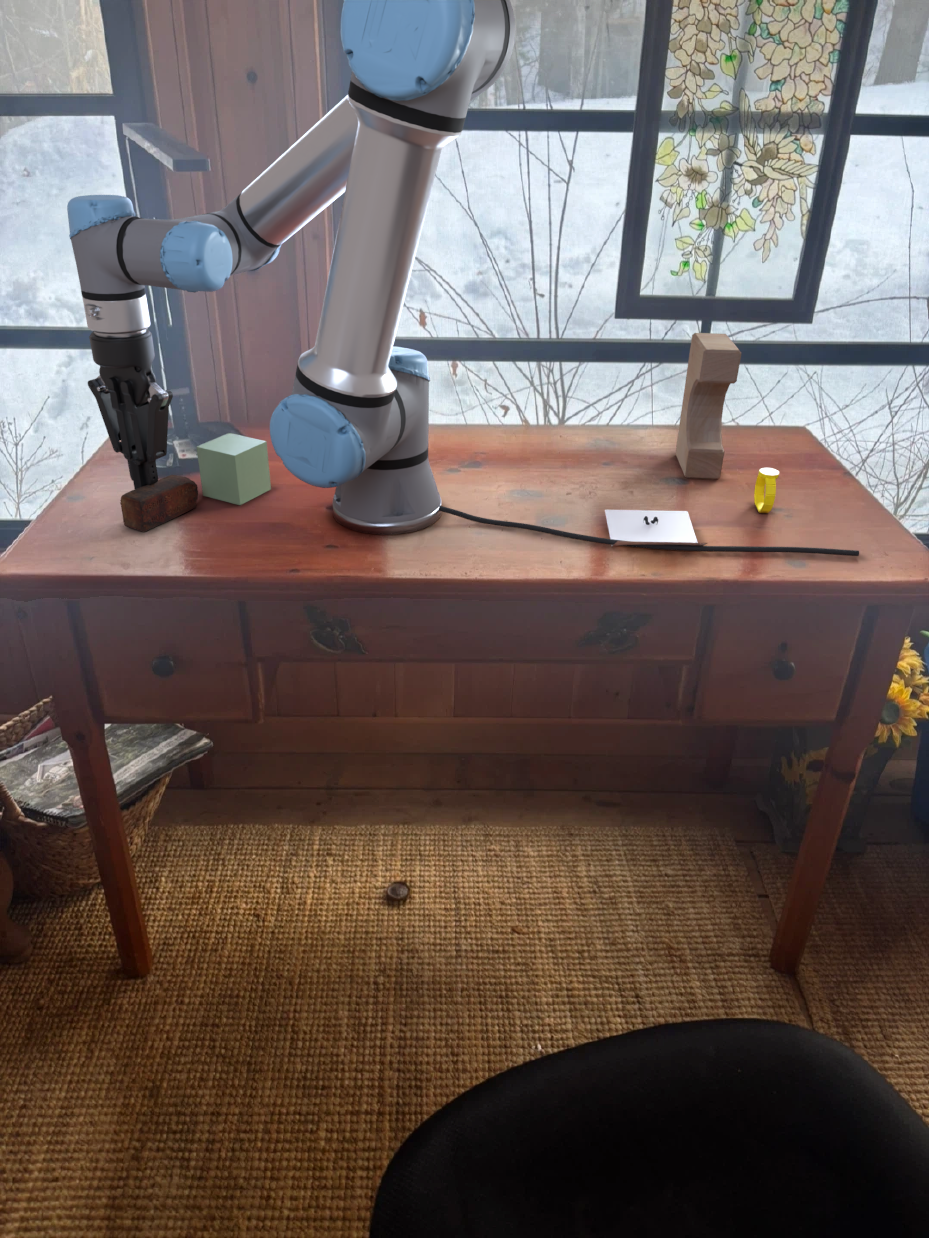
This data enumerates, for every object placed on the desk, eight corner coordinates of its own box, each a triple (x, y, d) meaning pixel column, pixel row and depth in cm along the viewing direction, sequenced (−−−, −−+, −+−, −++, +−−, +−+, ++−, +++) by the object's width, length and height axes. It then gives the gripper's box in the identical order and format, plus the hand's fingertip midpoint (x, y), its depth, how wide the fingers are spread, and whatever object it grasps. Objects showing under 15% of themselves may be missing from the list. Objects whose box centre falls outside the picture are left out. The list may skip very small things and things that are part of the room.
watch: (747, 500, 136) (754, 462, 133) (766, 501, 136) (773, 463, 133) (756, 517, 131) (764, 478, 128) (776, 518, 131) (784, 478, 128)
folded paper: (686, 518, 130) (688, 505, 129) (706, 556, 119) (708, 542, 118) (602, 516, 130) (603, 504, 129) (614, 554, 119) (616, 541, 118)
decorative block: (720, 480, 143) (742, 351, 132) (683, 479, 143) (702, 349, 133) (709, 455, 152) (729, 333, 142) (674, 454, 152) (692, 332, 142)
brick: (145, 534, 122) (140, 502, 119) (123, 527, 123) (118, 495, 121) (200, 507, 130) (197, 476, 127) (179, 501, 131) (175, 470, 129)
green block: (271, 489, 136) (266, 441, 132) (240, 505, 131) (234, 455, 127) (234, 480, 139) (229, 432, 135) (202, 495, 133) (196, 446, 130)
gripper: (59, 329, 115) (93, 503, 127) (135, 343, 110) (163, 523, 122) (105, 318, 120) (134, 485, 132) (180, 331, 115) (202, 504, 127)
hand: (148, 503), depth 127 cm, fingers closed
